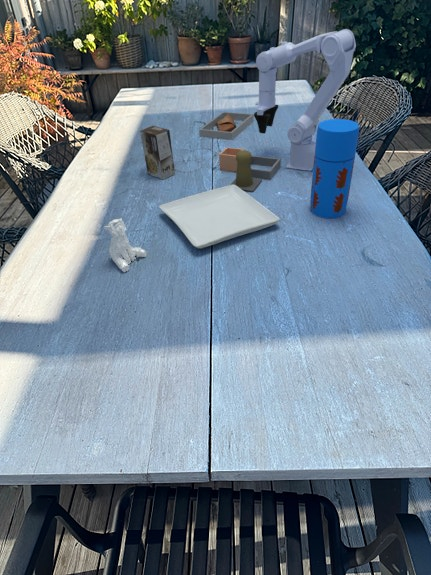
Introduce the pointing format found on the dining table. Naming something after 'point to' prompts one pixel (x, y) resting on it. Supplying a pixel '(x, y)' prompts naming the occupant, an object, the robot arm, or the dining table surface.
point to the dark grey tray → (209, 133)
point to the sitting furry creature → (122, 245)
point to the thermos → (333, 167)
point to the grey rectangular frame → (265, 161)
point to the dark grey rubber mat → (249, 188)
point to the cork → (243, 169)
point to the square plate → (218, 215)
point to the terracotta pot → (228, 159)
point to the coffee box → (158, 151)
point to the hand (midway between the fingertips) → (265, 129)
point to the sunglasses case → (226, 124)
